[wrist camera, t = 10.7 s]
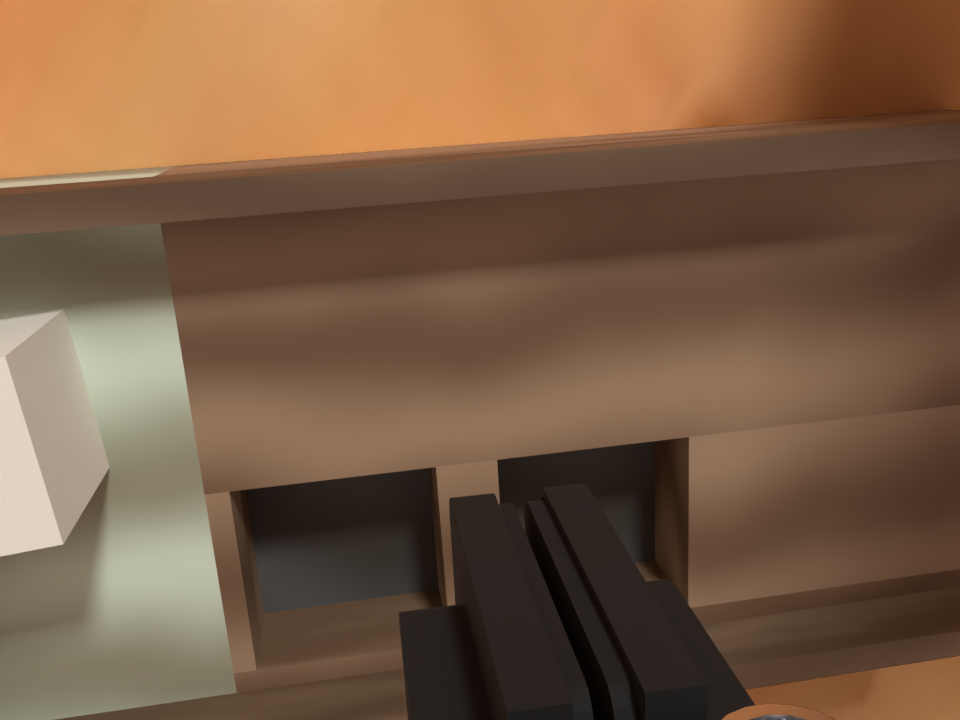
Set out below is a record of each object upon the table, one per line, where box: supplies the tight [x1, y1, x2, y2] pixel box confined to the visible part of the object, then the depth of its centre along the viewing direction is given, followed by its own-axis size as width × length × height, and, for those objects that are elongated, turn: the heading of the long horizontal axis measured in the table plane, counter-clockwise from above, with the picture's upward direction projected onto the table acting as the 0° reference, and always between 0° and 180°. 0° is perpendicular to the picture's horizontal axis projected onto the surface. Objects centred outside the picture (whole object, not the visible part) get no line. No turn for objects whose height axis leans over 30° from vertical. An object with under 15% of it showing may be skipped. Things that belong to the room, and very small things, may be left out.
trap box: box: [0, 110, 960, 720], centre depth 30 cm, size 18×36×6 cm, turn 94°
